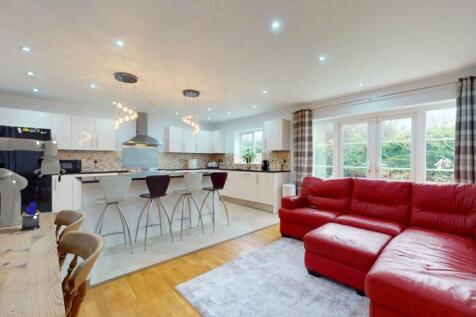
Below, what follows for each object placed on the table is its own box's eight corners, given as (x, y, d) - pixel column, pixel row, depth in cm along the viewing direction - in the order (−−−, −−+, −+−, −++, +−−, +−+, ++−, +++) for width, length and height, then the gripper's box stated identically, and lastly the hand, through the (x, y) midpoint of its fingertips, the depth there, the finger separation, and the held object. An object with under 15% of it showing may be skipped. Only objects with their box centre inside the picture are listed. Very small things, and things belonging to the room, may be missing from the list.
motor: (20, 228, 140) (20, 211, 141) (39, 226, 147) (39, 209, 147) (21, 232, 134) (21, 214, 134) (40, 229, 141) (41, 211, 141)
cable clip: (26, 212, 144) (26, 202, 144) (35, 211, 147) (36, 202, 147) (25, 215, 135) (26, 205, 135) (35, 214, 138) (35, 204, 138)
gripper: (34, 158, 149) (33, 183, 149) (66, 158, 161) (66, 182, 161) (34, 158, 155) (33, 182, 155) (65, 158, 167) (65, 181, 166)
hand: (50, 182), depth 158 cm, fingers open, 9 cm apart
